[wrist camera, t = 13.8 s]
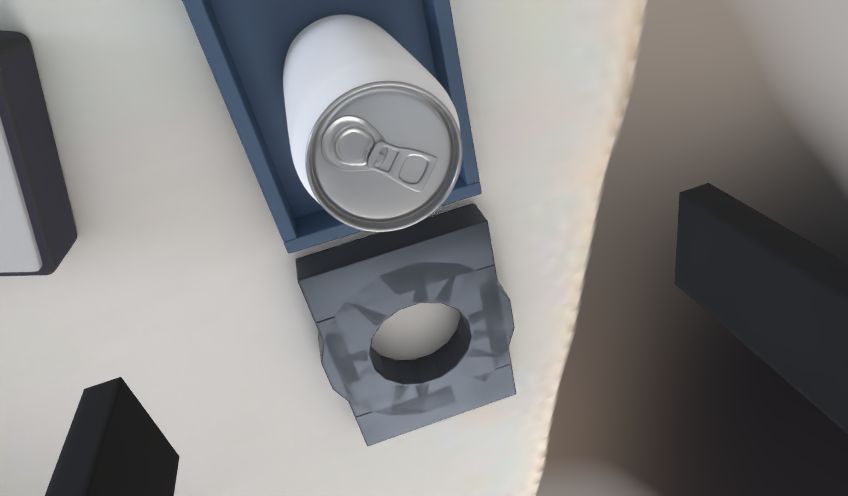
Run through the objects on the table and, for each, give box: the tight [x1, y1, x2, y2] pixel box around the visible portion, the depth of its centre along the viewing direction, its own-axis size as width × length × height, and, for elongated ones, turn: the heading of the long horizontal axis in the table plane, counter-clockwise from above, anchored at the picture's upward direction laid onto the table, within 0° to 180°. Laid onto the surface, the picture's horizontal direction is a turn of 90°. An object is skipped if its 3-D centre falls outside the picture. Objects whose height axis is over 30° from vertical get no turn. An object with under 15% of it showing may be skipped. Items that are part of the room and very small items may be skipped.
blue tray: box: [182, 0, 481, 253], centre depth 28 cm, size 16×12×3 cm
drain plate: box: [296, 204, 516, 446], centre depth 39 cm, size 16×13×2 cm
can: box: [283, 15, 463, 232], centre depth 24 cm, size 6×6×12 cm
